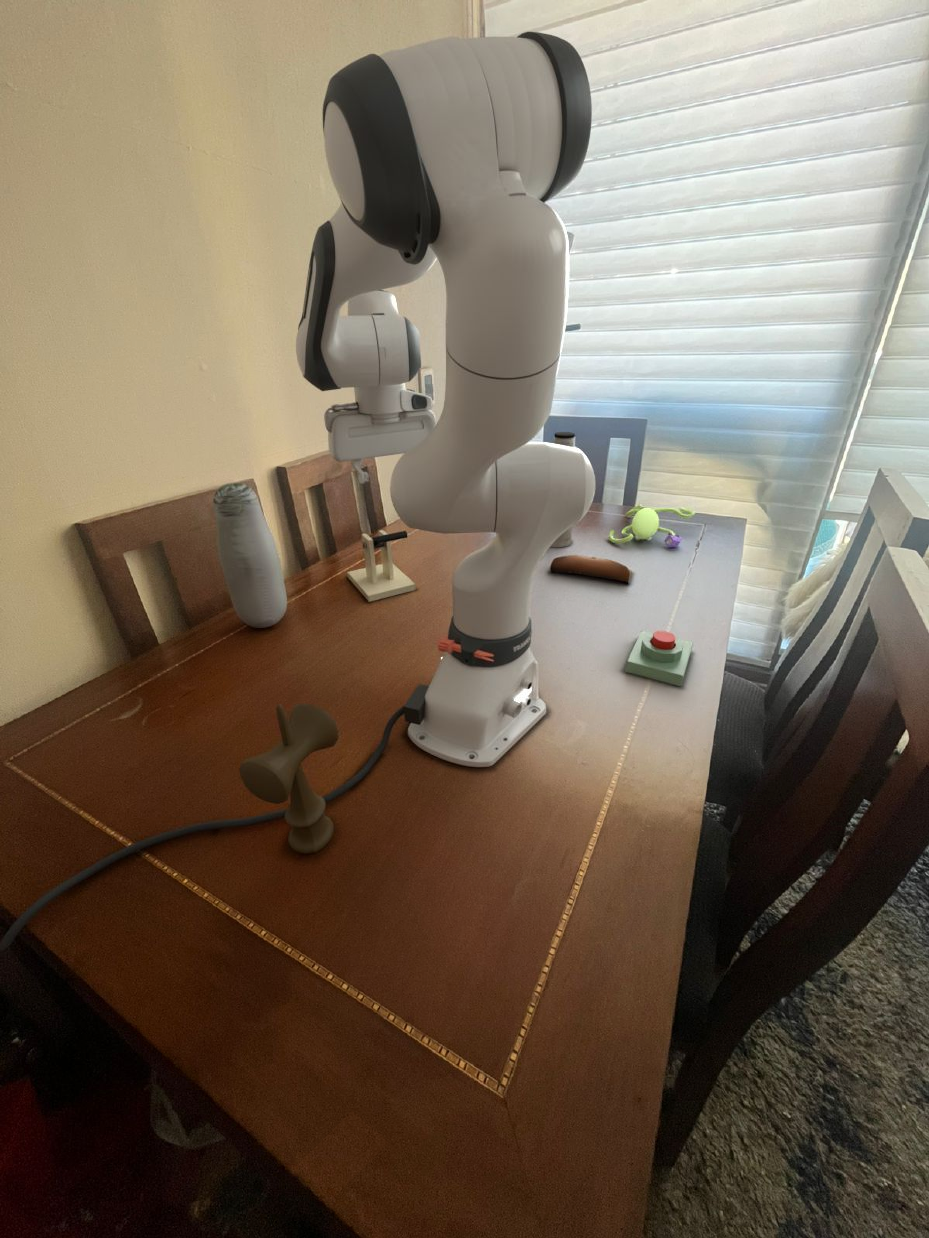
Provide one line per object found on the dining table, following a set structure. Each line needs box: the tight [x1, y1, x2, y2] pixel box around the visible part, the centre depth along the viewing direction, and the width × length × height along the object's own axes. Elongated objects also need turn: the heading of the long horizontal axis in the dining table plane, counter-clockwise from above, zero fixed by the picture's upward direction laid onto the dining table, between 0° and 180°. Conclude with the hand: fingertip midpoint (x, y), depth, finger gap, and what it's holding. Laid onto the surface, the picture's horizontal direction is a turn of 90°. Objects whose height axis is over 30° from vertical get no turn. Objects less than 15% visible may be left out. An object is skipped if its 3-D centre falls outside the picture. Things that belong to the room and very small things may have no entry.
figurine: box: [608, 504, 696, 548], centre depth 141 cm, size 18×27×6 cm
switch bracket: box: [347, 529, 416, 603], centre depth 115 cm, size 14×11×12 cm
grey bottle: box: [212, 482, 288, 629], centre depth 96 cm, size 10×10×28 cm
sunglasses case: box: [549, 554, 632, 585], centre depth 120 cm, size 18×7×7 cm, turn 68°
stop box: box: [624, 630, 694, 687], centre depth 89 cm, size 11×9×4 cm
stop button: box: [651, 630, 677, 650], centre depth 87 cm, size 4×4×2 cm
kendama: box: [238, 702, 339, 855], centre depth 55 cm, size 6×10×20 cm, turn 160°
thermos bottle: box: [550, 431, 578, 548], centre depth 131 cm, size 8×8×28 cm
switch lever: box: [370, 530, 408, 550], centre depth 108 cm, size 13×6×2 cm, turn 30°
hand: (388, 479), depth 97 cm, fingers open, 8 cm apart
